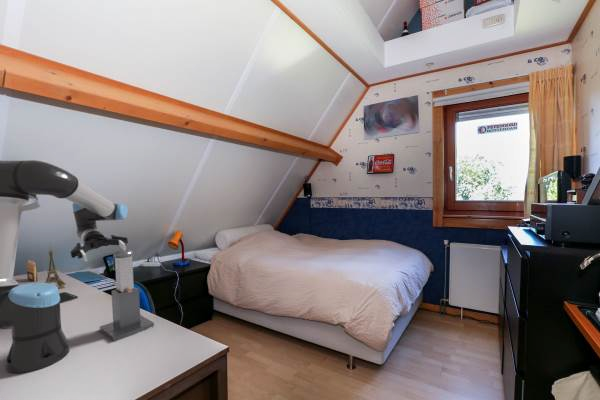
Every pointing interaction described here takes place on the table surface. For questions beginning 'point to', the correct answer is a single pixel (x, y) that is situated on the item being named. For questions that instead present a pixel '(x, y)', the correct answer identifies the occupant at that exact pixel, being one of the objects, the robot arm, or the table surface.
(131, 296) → the jack stand base
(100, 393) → the table surface
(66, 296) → the phone
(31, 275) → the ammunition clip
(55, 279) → the eiffel tower
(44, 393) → the table surface
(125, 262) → the column
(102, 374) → the table surface
